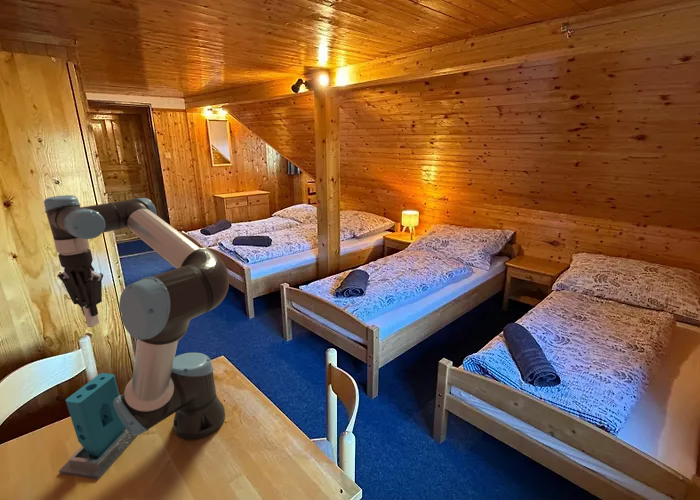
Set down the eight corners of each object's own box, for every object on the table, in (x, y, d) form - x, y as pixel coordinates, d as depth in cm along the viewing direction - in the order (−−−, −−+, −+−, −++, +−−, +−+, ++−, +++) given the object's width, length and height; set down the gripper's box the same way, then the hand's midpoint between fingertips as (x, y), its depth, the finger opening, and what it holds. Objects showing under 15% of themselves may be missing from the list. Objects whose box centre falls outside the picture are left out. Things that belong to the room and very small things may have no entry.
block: (97, 462, 103) (79, 403, 96) (82, 459, 104) (63, 400, 97) (129, 429, 114) (116, 374, 107) (115, 426, 115) (101, 372, 108)
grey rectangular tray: (148, 422, 117) (146, 415, 117) (98, 479, 99) (96, 470, 98) (114, 418, 119) (112, 411, 118) (59, 473, 101) (56, 465, 100)
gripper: (105, 247, 107) (121, 320, 115) (65, 246, 109) (84, 317, 117) (83, 256, 100) (103, 332, 108) (41, 254, 102) (64, 329, 110)
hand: (93, 324), depth 112 cm, fingers closed
